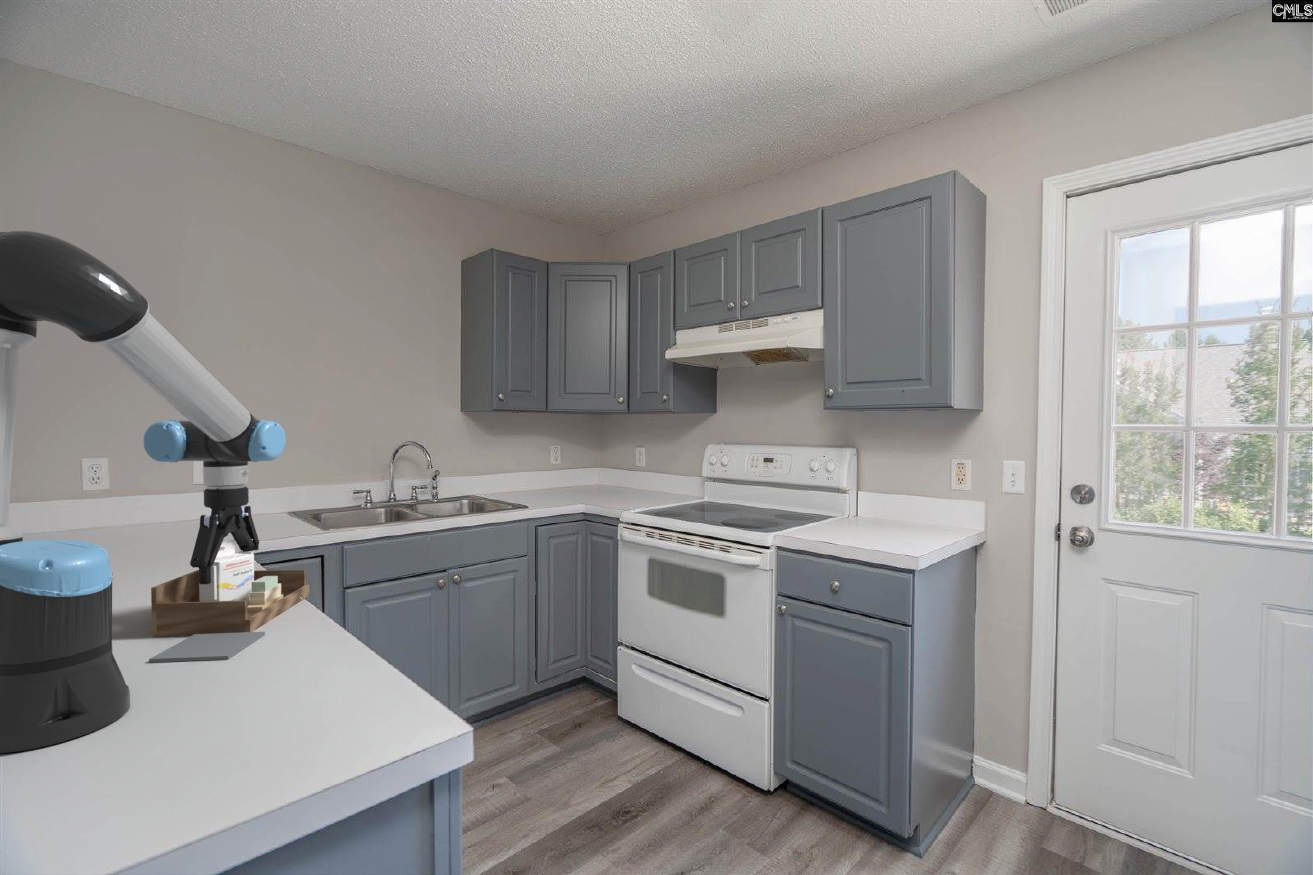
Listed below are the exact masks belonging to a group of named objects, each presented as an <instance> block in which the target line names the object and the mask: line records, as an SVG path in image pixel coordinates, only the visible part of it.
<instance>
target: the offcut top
mask: <svg viewBox="0 0 1313 875" xmlns="http://www.w3.org/2000/svg"><path fill="white" fill-rule="evenodd" d="M251 583H252V592H266V591H268V590H270V589H272V588H274V587H276V586H278V576H264V577H262V578H260V579H257V580H255V581H253V582H251Z"/></svg>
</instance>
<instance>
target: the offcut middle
mask: <svg viewBox="0 0 1313 875" xmlns="http://www.w3.org/2000/svg"><path fill="white" fill-rule="evenodd" d="M280 595H281V583H278V586H276V587H274V588H272V589H270V590H268V591H266V592H250V605H265V604H267V603H269V602H270V601H272V600H274V599H275V598H277V597H279V596H280Z"/></svg>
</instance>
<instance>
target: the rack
mask: <svg viewBox="0 0 1313 875" xmlns="http://www.w3.org/2000/svg"><path fill="white" fill-rule="evenodd" d="M306 574H307V570H306V569H305V568H304V569H303V568H301V569H300V568H299V569H267V570H266V569H265V570H263V569H261V570H260V569H259V570H258V569H257V570H254V581H255V580H257V579H260V578H262V577H264V576H278V583H281V594H283V598H282V599H280V600H279V601H277V602H275V603H274V604H272V605H270V606H269V607H267V608H265V609H263V610H262V611H260V612H258V613H257V614H255V615H253V616H251V617H250V618H248V619H247V600H240V601H206V602H200V600H199V569H197V570H194V571H192V572H189V573H187V574H183V575H181V576H178V577H175V578H174V579H170V580H168V581H165V582H163V583H160V584H158V585H155V586H152V587H151V588H150V591H151V595H150V596H151V601H150V603H151V605H150V606H151V637H177V636H178V637H181V636H183V637H184V636H192V635H194V634H214V633H242V632H255V631H256V630H258V629H259V628H261V627H262V626H264V625H266V624H267V623H269V622H270V621H271V620H273V619H275V618H276V617H279V616H280V615H281V614H283V613H285V612H286V611H287V610H290V609H291V608H292V607H294V606H296V605H297V604H299V603H301V602H302V601H303V600H305V599H307V598H308V597H310V594H311V592H310V586H311V585H310V584H307V580H306V579H307V578H306V577H307V576H306ZM300 597H301V598H302V599H303V600H302V599H301V598H300Z"/></svg>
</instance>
